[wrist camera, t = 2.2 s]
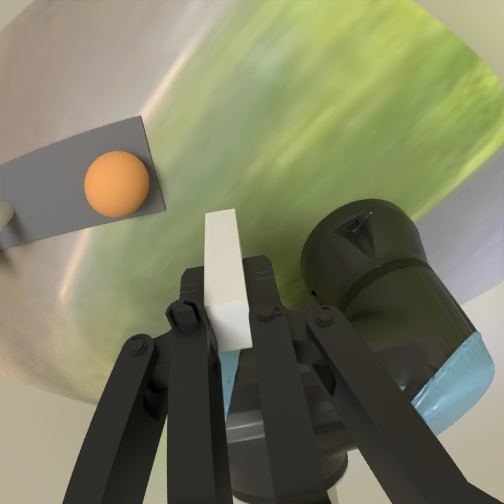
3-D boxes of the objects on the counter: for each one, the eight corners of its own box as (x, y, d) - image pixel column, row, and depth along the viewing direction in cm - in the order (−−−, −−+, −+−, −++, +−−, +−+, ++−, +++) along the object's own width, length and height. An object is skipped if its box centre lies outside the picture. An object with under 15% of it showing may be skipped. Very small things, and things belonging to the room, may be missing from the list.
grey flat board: (140, 115, 26) (140, 116, 26) (165, 209, 32) (165, 210, 32) (-45, 189, 25) (-46, 190, 25) (-14, 253, 31) (-15, 254, 31)
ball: (159, 148, 28) (147, 171, 23) (148, 204, 31) (137, 236, 26) (99, 138, 26) (76, 159, 21) (93, 193, 30) (73, 223, 25)
